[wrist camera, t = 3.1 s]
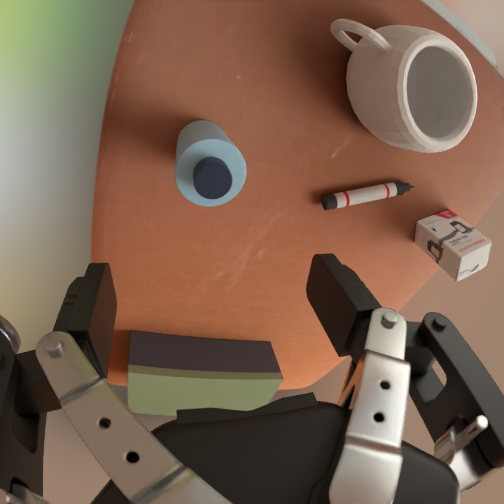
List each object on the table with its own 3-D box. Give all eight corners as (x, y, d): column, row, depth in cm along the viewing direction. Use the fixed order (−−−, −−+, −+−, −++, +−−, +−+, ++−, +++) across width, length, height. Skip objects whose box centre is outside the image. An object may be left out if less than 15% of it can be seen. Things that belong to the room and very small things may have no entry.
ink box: (449, 208, 46) (494, 240, 37) (446, 231, 49) (488, 265, 39) (415, 220, 46) (461, 257, 36) (413, 244, 49) (455, 283, 39)
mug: (448, 76, 33) (497, 86, 25) (403, 162, 40) (449, 187, 31) (343, -18, 25) (389, -37, 16) (283, 82, 31) (319, 84, 23)
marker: (321, 206, 41) (327, 213, 39) (320, 193, 40) (327, 199, 38) (408, 189, 42) (416, 194, 41) (409, 177, 41) (417, 182, 40)
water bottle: (171, 162, 33) (167, 210, 22) (183, 115, 31) (184, 136, 19) (218, 171, 35) (239, 223, 24) (231, 126, 33) (261, 154, 21)
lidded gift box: (129, 373, 50) (128, 412, 43) (131, 330, 45) (127, 372, 38) (250, 380, 58) (260, 415, 51) (270, 341, 53) (283, 379, 46)
